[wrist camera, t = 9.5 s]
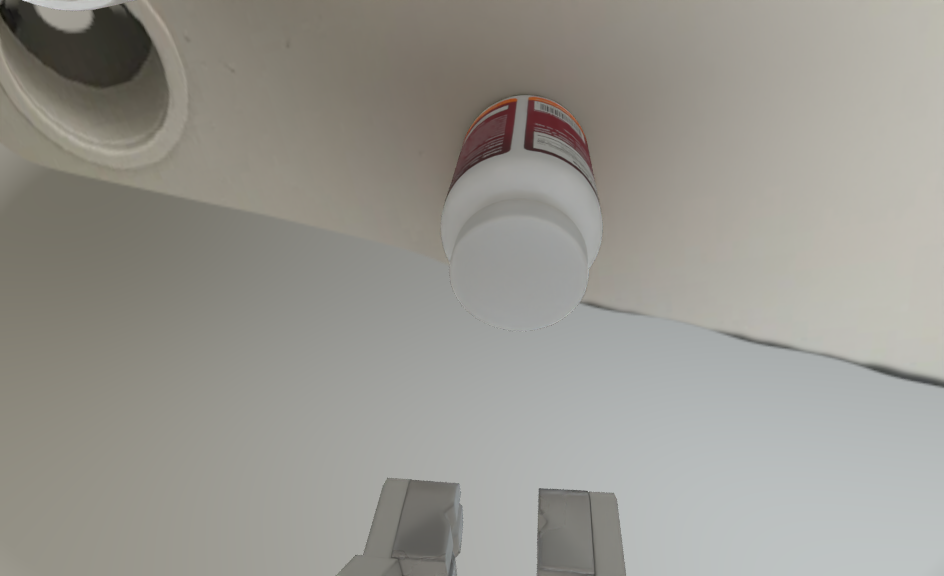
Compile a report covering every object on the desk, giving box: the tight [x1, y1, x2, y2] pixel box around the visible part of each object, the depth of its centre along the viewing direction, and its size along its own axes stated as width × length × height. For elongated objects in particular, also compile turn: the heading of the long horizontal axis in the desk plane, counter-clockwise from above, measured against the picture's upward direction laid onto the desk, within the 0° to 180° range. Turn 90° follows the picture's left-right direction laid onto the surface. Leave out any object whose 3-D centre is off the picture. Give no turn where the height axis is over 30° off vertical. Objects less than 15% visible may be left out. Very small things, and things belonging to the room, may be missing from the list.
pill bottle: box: [441, 95, 603, 331], centre depth 22 cm, size 6×6×11 cm
